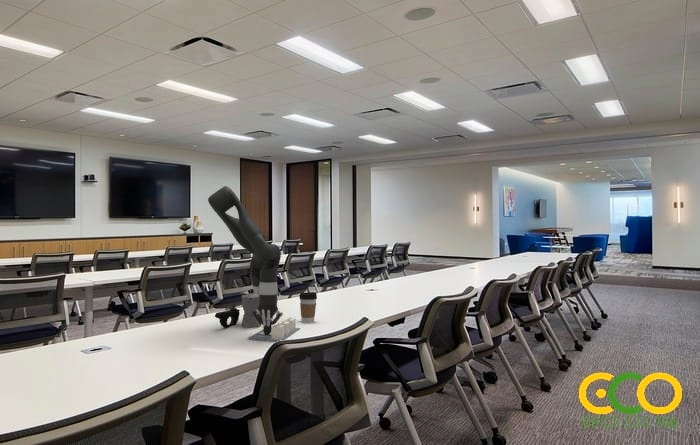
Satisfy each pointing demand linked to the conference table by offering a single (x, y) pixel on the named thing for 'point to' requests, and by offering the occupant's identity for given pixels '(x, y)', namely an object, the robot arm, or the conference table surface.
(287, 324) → the cream white block
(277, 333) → the white toy brick
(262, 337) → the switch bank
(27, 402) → the conference table surface
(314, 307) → the coffee cup
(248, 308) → the coffeepot
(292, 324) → the white studded block
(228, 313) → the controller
